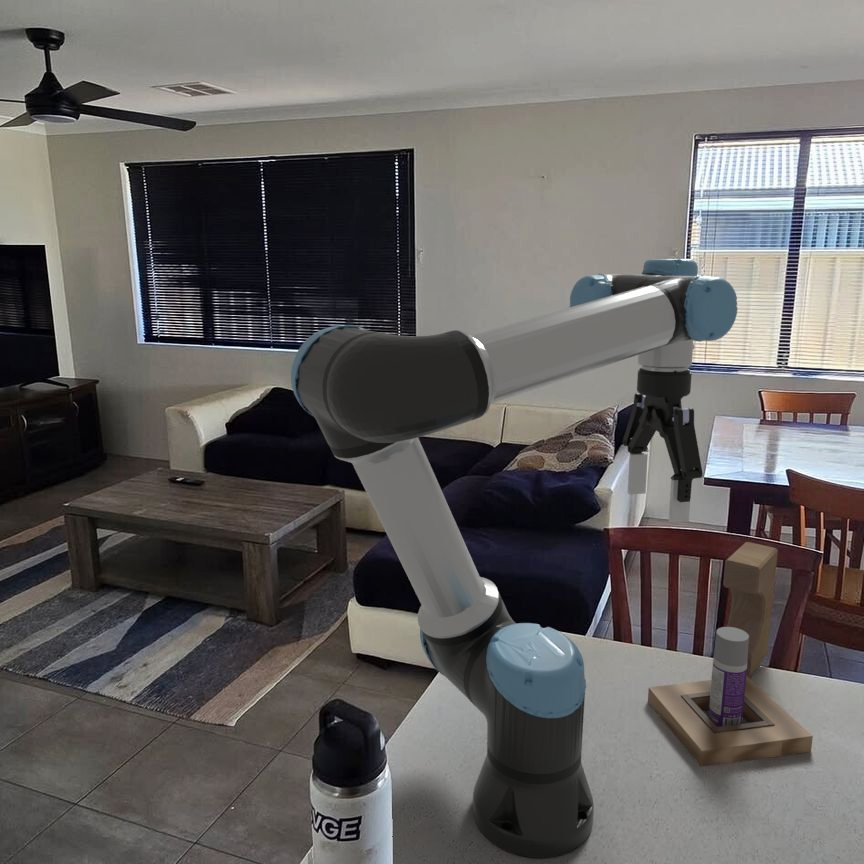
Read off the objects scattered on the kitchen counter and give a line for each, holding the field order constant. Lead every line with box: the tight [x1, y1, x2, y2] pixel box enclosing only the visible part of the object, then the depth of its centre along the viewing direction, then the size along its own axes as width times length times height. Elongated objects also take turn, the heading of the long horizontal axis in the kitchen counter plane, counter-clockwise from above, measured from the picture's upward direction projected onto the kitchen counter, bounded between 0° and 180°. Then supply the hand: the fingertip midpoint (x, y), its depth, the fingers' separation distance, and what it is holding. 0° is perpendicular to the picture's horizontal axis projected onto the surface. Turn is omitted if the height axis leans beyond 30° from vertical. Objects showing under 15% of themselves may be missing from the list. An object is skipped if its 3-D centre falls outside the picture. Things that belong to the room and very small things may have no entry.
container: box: [707, 626, 749, 727], centre depth 111 cm, size 5×5×15 cm
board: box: [647, 676, 814, 768], centre depth 113 cm, size 17×16×3 cm
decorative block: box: [722, 541, 779, 679], centre depth 128 cm, size 11×6×20 cm, turn 140°
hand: (656, 506), depth 114 cm, fingers open, 13 cm apart
